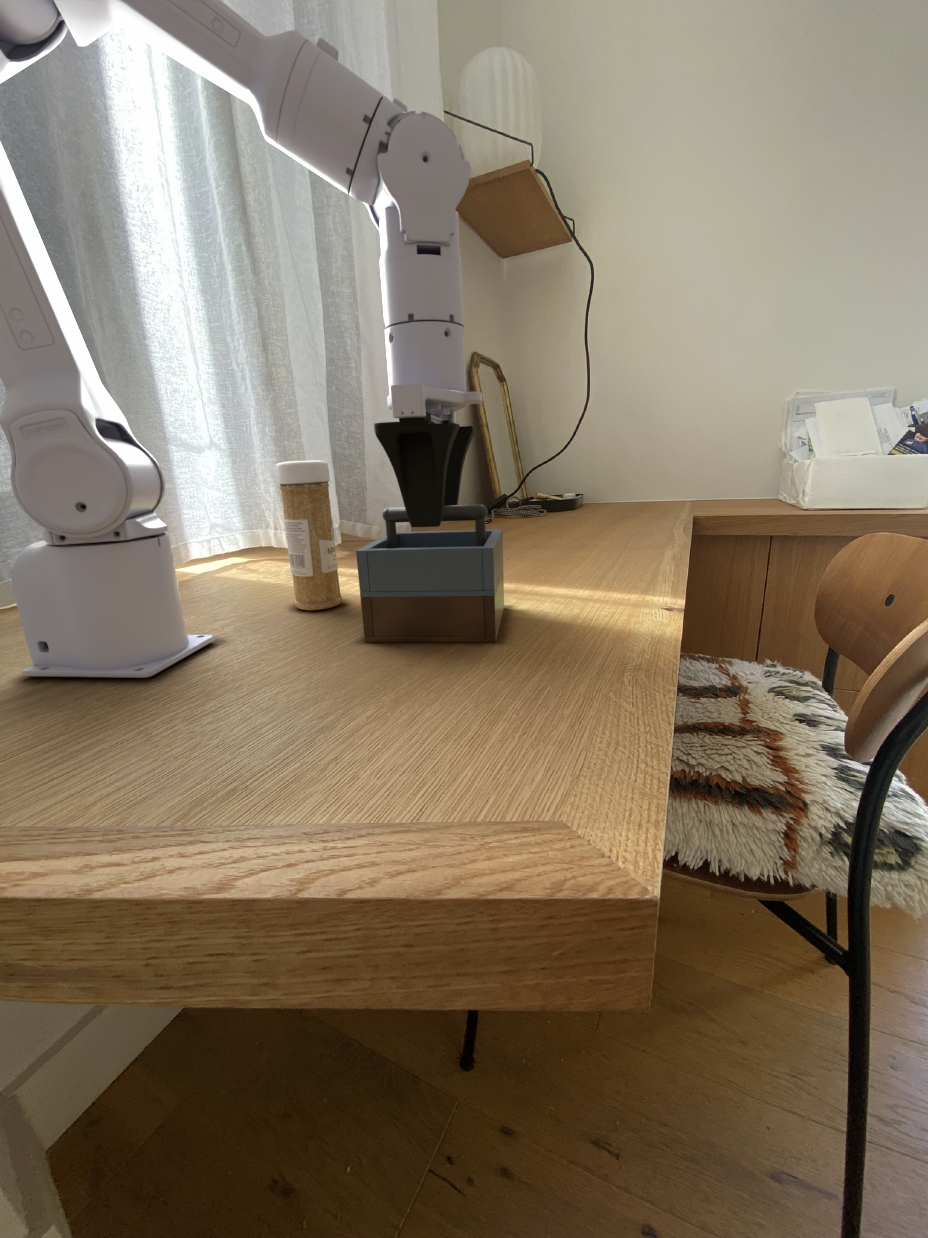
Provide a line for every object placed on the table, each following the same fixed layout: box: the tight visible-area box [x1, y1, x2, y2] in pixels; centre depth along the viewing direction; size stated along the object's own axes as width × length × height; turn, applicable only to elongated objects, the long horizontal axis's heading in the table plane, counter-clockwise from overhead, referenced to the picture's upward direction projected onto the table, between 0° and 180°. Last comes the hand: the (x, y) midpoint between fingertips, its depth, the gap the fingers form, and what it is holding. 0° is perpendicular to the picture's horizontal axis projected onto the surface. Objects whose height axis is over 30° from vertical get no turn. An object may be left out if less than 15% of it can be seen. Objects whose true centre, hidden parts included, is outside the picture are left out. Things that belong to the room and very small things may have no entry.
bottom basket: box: [360, 570, 505, 643], centre depth 46 cm, size 10×10×4 cm
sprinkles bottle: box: [275, 459, 343, 611], centre depth 52 cm, size 5×5×14 cm
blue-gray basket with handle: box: [355, 504, 504, 598], centre depth 44 cm, size 10×10×6 cm
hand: (435, 520), depth 44 cm, fingers open, 7 cm apart
